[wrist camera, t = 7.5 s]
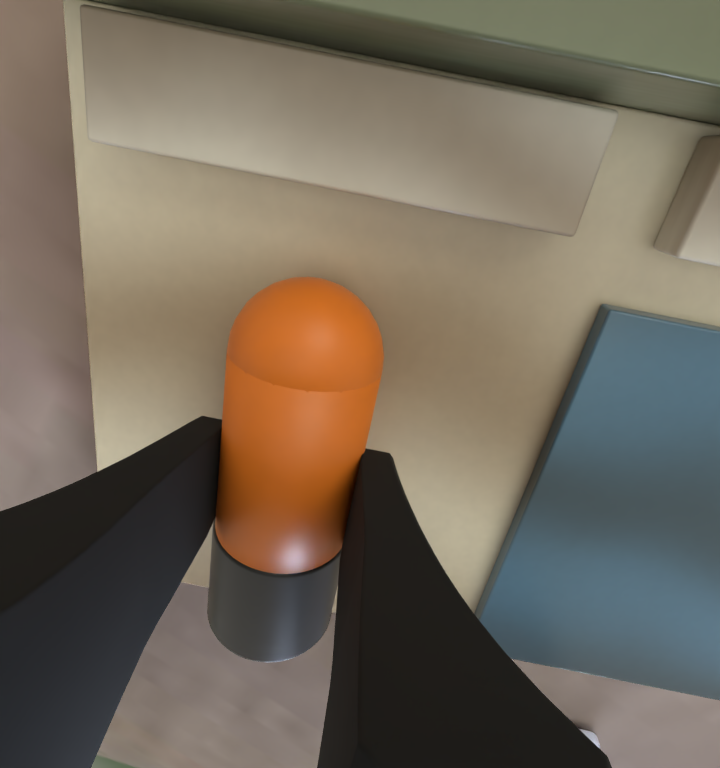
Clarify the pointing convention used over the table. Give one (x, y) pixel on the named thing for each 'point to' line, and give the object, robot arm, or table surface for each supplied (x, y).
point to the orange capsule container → (289, 463)
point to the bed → (442, 276)
